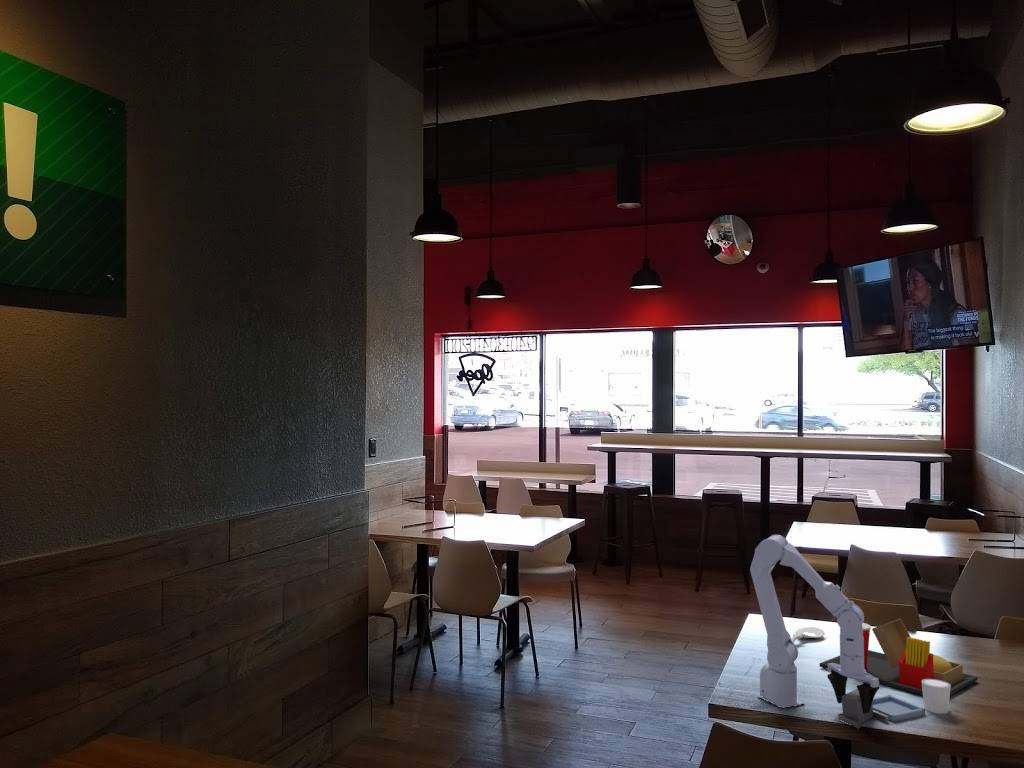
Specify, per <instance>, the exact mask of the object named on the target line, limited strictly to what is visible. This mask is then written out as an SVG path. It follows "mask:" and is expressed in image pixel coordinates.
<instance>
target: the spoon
mask: <svg viewBox="0 0 1024 768" xmlns="http://www.w3.org/2000/svg"><path fill="white" fill-rule="evenodd" d="M804 632H808V633H814V634H815V635H816V636H808V635H805V634H803V633H804ZM825 634H826V633H825V631H824V630H823V629H821V628H819V627H815V626H806V627H803V628H798V629H797V630H796V631H795V633H794V634H793V635H792V637H791V640H792V642H793V643H794V644H795V641H796V640H797V639H806V638H817V639H821V638H823V637H824V636H825ZM803 637H804V638H803Z"/></svg>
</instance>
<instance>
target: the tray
mask: <svg viewBox="0 0 1024 768" xmlns="http://www.w3.org/2000/svg"><path fill="white" fill-rule="evenodd" d="M872 702H873V710H875V711H877V712H880V713H882V714H885V715H887V716H889V721H890V720H891V721H890V722H892V721H893V723H895V722H894V721H896V722H899V721H898V720H900V721H903V720H904V719H905V720H908V719H914V718H917V717H922V715H923V716H925V715H926V709H925V708H924V707H921V706H918V705H917V704H914V703H911V702H908V701H906V700H903V699H901V698H898V697H896V696H893V695H891V694H888V695H882V696H878V697H874V698H873V701H872ZM913 717H914V718H913ZM905 720H904V721H905Z"/></svg>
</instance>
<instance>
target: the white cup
mask: <svg viewBox="0 0 1024 768" xmlns="http://www.w3.org/2000/svg"><path fill="white" fill-rule="evenodd" d="M950 688H951V685H950V684H949V683H947V682H945V681H941V680H936V679H924V680H922V691H923V696H922V698H923V708H924V709H925V711H928V712H930V713H934V714H941V715H945V714H948V713H949V707H950V699H951V698H950V696H951V695H950Z"/></svg>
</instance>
